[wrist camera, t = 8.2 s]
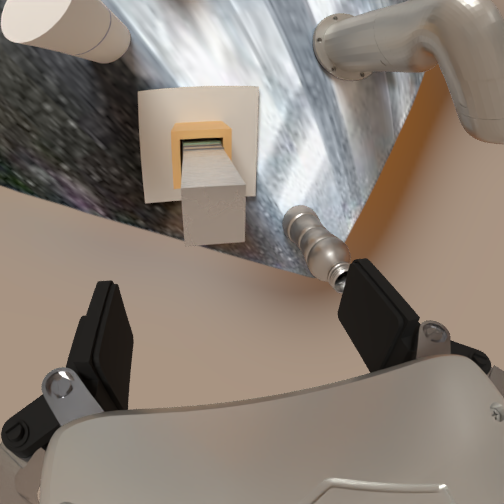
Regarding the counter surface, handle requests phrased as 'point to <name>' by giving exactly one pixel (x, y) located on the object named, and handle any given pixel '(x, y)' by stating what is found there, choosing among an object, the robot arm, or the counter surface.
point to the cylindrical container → (67, 27)
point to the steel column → (211, 194)
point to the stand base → (195, 133)
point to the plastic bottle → (318, 246)
